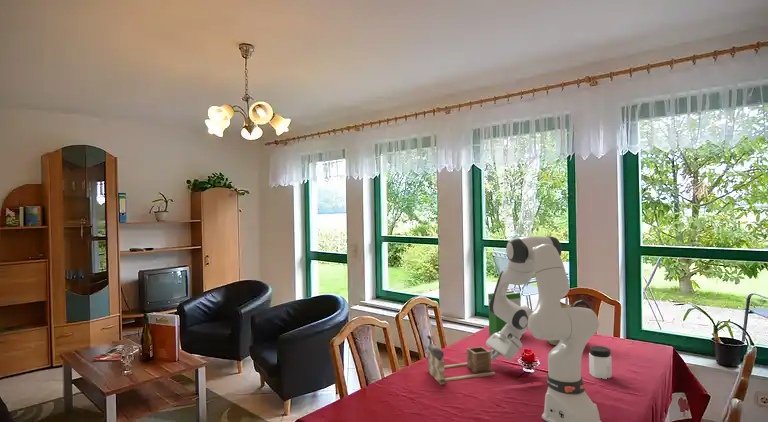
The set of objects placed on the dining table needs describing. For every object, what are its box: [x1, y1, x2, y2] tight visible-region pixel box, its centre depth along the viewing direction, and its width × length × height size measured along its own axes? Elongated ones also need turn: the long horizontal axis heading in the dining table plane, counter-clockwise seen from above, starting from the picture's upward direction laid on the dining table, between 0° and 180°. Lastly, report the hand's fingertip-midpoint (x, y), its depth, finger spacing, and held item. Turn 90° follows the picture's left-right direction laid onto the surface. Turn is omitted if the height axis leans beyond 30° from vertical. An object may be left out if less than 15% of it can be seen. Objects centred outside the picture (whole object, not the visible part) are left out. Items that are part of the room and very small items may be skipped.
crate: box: [466, 346, 492, 374], centre depth 206 cm, size 8×8×9 cm
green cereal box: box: [487, 290, 522, 336], centre depth 266 cm, size 18×7×24 cm, turn 112°
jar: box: [588, 345, 613, 380], centre depth 198 cm, size 9×8×12 cm
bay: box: [426, 335, 496, 385], centre depth 204 cm, size 17×27×17 cm, turn 104°
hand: (490, 359), depth 207 cm, fingers closed
